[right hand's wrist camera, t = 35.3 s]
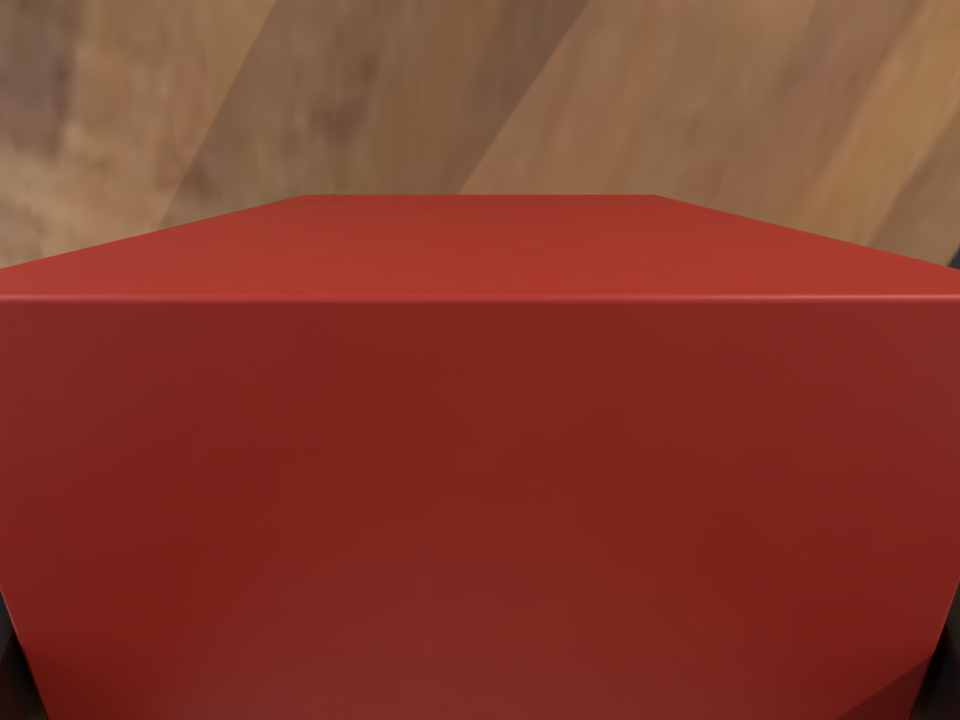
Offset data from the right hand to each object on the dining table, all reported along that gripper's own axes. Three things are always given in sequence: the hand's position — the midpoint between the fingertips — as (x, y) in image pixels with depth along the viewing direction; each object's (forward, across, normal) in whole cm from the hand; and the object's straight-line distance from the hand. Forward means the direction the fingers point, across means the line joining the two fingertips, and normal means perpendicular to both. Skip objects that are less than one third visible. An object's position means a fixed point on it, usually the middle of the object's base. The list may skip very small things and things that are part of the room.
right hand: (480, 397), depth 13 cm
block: (+2, 0, 0) cm, 2 cm away
